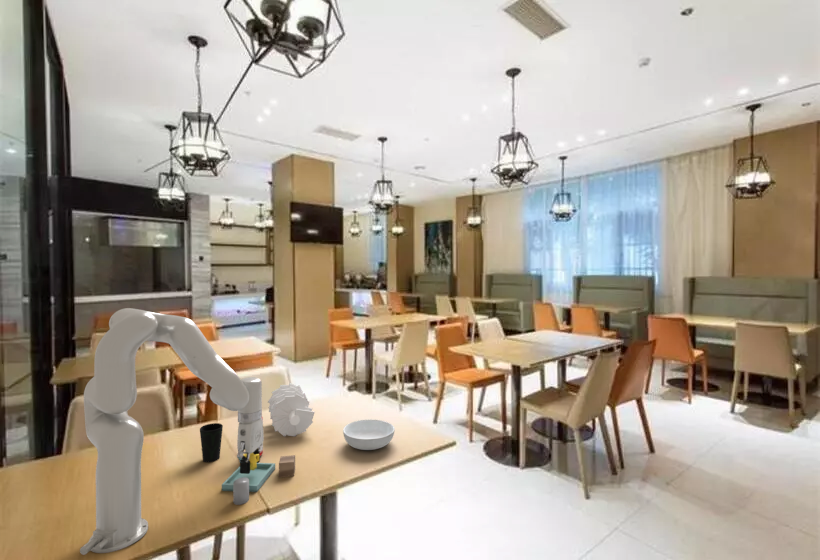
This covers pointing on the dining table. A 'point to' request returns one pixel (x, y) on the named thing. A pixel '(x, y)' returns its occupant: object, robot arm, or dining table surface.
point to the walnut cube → (287, 466)
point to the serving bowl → (368, 434)
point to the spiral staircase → (290, 410)
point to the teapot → (253, 460)
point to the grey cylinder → (241, 491)
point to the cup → (211, 441)
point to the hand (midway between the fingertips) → (250, 467)
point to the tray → (251, 477)
